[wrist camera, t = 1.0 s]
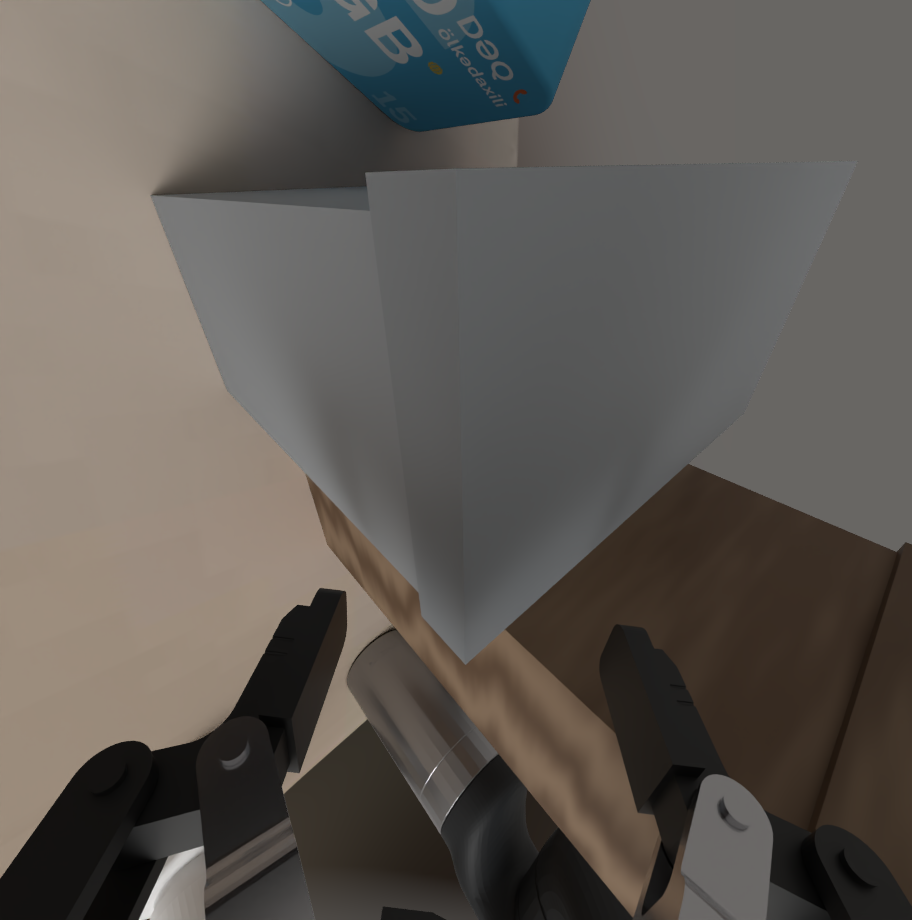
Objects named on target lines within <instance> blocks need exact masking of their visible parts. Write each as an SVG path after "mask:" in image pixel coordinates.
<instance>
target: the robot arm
mask: <svg viewBox="0 0 912 920" xmlns="http://www.w3.org/2000/svg"><path fill="white" fill-rule="evenodd" d="M346 631H347V602H346V592H345V591H340V590H332V589H324V588H320V589H319V590H318V591H317V593H316V595H315V597H314V599H313V601H312V603H311V605H310V606H303V605H297V606H296V607H294V608H293V609H292V610H291V611H290V612H289V613H288V614H287V615H286V616H285V617H284V618H283V619H282V620H281V622H280V624H279V626H278V628H277V629H276V631H275V633H274V635H273V639H271V641H270V643H269V644H268V646H267V648H266V650H265V654H263V656H262V657H261V659H260V661H259V663H258V665H257V667H256V669H255V671H254V672H253V674H252V676H251V678H250V680H249V682H248V684H247V685H246V687H245V689H244V691H243V693H242V695H241V697H240V698H239V700H238V702H237V704H236V706H235V708H234V709H233V711H232V713H231V714H230V715H229V717H228V718H227V719H226V720H225V721H224V722H223V723H222V724H221V725H220V726H219V727H218V728H216V729H215V730H214V731H213V732H211V733H210V734H208V735H207V736H205V737H203V738H201V739H199V740H196V741H194V742H190V743H186V744H182V745H178V746H173V747H169V748H164V749H160V750H155V751H151V750H150V749H149V747H148V746H147V745H145V744H144V743H141V742H138V741H126V742H121V743H118V744H115V745H112V746H110V747H108V748H106V749H104V750H102V751H101V752H99V753H98V754H96V755H95V756H93V757H92V758H91V759H90V760H88V761H87V762H86V763H85V764H84V765H83V766H82V767H81V768H80V769H79V770H78V771H77V773H76V774H75V775H74V776H73V778H72V779H71V781H70V782H69V783H68V785H67V786H66V787H65V789H64V790H63V792H62V793H61V794H60V796H59V797H58V799H57V800H56V801H55V803H54V804H53V806H52V807H51V808H50V810H49V811H48V813H47V814H46V815H45V817H44V818H43V820H42V821H41V822H40V824H39V825H38V827H37V828H36V829H35V831H34V832H33V834H32V835H31V836H30V838H29V839H28V841H27V842H26V843H25V845H24V846H23V848H22V849H21V850H20V852H19V853H18V855H17V856H16V857H15V859H14V860H13V862H12V863H11V864H10V866H9V867H8V869H7V870H6V871H5V873H4V874H3V876H2V877H1V878H0V920H139V918H140V916H141V914H142V912H143V910H144V908H145V905H146V903H147V901H148V899H149V897H150V895H151V893H152V890H153V888H154V886H155V884H156V882H157V880H158V878H159V875H160V873H161V871H162V869H163V867H164V865H165V863H166V860H167V858H168V856H171V855H174V854H177V853H181V852H184V851H188V850H191V849H194V848H198V847H201V846H204V855H205V865H206V884H205V887H204V908H205V920H315V918H314V914H313V910H312V906H311V901H310V897H309V893H308V889H307V885H306V881H305V877H304V873H303V869H302V865H301V861H300V857H299V852H298V848H297V844H296V841H295V837H294V833H293V829H292V827H291V823H290V819H289V815H288V811H287V807H286V802H285V798H284V794H283V790H282V784H283V781H284V779H285V776H286V773H287V772H295V773H300V770H301V767H302V764H303V761H304V759H305V756H306V753H307V750H308V747H309V744H310V741H311V738H312V735H313V733H314V730H315V727H316V724H317V721H318V718H319V715H320V712H321V709H322V707H323V704H324V701H325V698H326V695H327V692H328V689H329V686H330V683H331V680H332V678H333V675H334V672H335V669H336V666H337V663H338V660H339V657H340V654H341V652H342V649H343V645H344V642H345V637H346ZM599 672H600V678H601V682H602V686H603V690H604V693H605V697H606V700H607V704H608V708H609V711H610V715H611V718H612V722H613V726H614V729H615V733H616V736H617V740H618V744H619V747H620V751H621V755H622V758H623V762H624V765H625V769H626V773H627V776H628V780H629V783H630V787H631V791H632V794H633V798H634V802H635V805H636V809H637V812H638V813H642V814H650V815H654V816H655V820H656V823H657V826H658V829H659V835H658V838H657V841H656V844H655V848H654V851H653V854H652V858H651V861H650V864H649V868H648V871H647V874H646V878H645V881H644V884H643V888H642V891H641V894H640V898H639V901H638V904H637V908H636V911H635V914H634V917H632V916H631V915H630V914H629V912H628V911H627V910H626V909H625V908H624V906H623V905H622V904H621V903H620V901H619V900H618V899H617V898H616V897H615V895H614V894H613V893H612V892H611V890H610V889H609V888H608V887H607V886H606V884H605V883H604V882H603V881H602V880H601V878H600V877H599V876H598V875H597V873H596V872H595V871H594V870H593V869H592V867H591V866H590V865H589V864H588V862H587V861H586V860H585V859H584V858H583V856H582V855H581V854H580V853H579V851H578V850H577V849H576V848H575V847H574V845H573V844H572V843H571V842H570V840H569V839H568V838H567V837H566V836H565V834H564V833H563V832H562V831H561V829H560V828H559V827H558V828H557V829H556V830H555V831H554V832H553V834H552V835H551V836H550V838H549V839H548V840H547V842H546V843H545V845H544V846H543V848H542V849H541V851H540V852H538V851H537V850H536V848H535V846H534V845H533V843H532V841H531V839H530V837H529V834H528V831H527V826H526V818H525V802H526V795H527V788H526V787H525V786H524V784H523V783H522V782H521V781H520V779H519V778H518V777H517V776H516V775H515V773H514V772H513V771H512V770H511V768H510V767H509V766H508V765H507V764H506V762H505V761H504V760H503V759H502V757H501V756H500V755H499V754H498V753H497V751H496V750H495V749H494V748H493V746H492V745H491V744H490V743H489V742H488V740H487V739H486V738H485V737H484V735H483V734H482V733H481V732H480V731H479V729H478V728H477V727H476V726H475V724H474V723H473V722H472V721H471V720H470V718H469V717H468V716H467V715H466V713H465V712H464V711H463V710H462V709H461V707H460V706H459V705H458V704H457V702H456V701H455V700H454V699H453V698H452V696H451V695H450V694H449V693H448V692H447V690H446V689H445V688H444V687H443V685H442V684H441V683H440V682H439V681H438V679H437V678H436V677H435V676H434V674H433V673H432V672H431V671H430V670H429V668H428V667H427V666H426V665H425V663H424V662H423V661H422V660H421V659H420V657H419V656H418V655H417V654H416V652H415V651H414V650H413V649H412V648H411V646H410V645H409V644H408V643H407V641H406V640H405V639H404V638H403V637H402V635H401V634H400V633H399V632H398V630H394V631H391V632H388V633H386V634H384V635H383V636H381V637H380V638H378V639H377V640H375V641H374V642H373V643H372V644H370V645H369V646H368V647H367V648H366V649H365V650H364V651H363V652H362V653H361V654H360V656H359V657H358V658H357V659H356V661H355V662H354V664H353V666H352V667H351V670H350V672H349V674H348V678H347V685H348V688H349V690H350V691H351V693H352V694H353V696H354V698H355V699H356V701H357V702H358V704H359V706H360V707H361V709H362V710H363V712H364V714H365V715H366V717H367V719H368V720H369V722H370V723H371V725H372V726H373V728H374V730H375V731H376V733H377V734H378V736H379V738H380V739H381V741H382V742H383V744H384V746H385V747H386V749H387V750H388V752H389V753H390V755H391V757H392V758H393V760H394V762H395V763H396V765H397V766H398V768H399V769H400V771H401V772H402V774H403V776H404V777H405V779H406V780H407V782H408V784H409V785H410V787H411V789H412V790H413V792H414V793H415V795H416V796H417V798H418V800H419V801H420V803H421V804H422V806H423V807H424V809H425V810H426V812H427V814H428V815H429V817H430V818H431V820H432V822H433V823H434V825H435V826H436V828H437V830H438V831H439V833H440V834H441V836H442V838H443V839H444V841H445V843H446V844H447V846H448V848H449V850H450V853H451V855H452V859H453V864H454V868H455V872H456V875H457V878H458V881H459V883H460V886H461V888H462V890H463V892H464V894H465V896H466V898H467V899H468V901H469V903H470V905H471V907H472V909H473V910H474V912H475V914H476V916H477V918H478V919H479V920H912V906H911V904H910V902H909V901H908V899H907V898H906V896H905V894H904V893H903V891H902V889H901V888H900V886H899V885H898V883H897V881H896V880H895V878H894V876H893V875H892V873H891V872H890V870H889V869H888V868H887V866H886V865H885V864H884V862H883V861H882V860H881V859H880V858H879V857H878V855H877V854H876V853H875V852H874V851H873V850H872V849H871V848H870V847H869V846H868V845H866V844H865V843H864V842H863V841H862V840H860V839H859V838H858V837H856V836H855V835H853V834H852V833H850V832H848V831H847V830H845V829H843V828H840V827H838V826H834V825H822V826H820V827H819V828H817V829H816V830H815V831H814V832H812V833H811V832H809V831H807V830H805V829H802V828H800V827H798V826H796V825H794V824H792V823H790V822H788V821H786V820H783V819H781V818H779V817H777V816H775V815H773V814H771V813H769V812H767V811H765V810H763V808H762V806H761V805H760V804H759V802H758V801H757V800H756V799H755V797H754V796H753V795H752V794H751V793H750V792H749V791H748V790H747V789H746V788H744V787H743V786H742V785H741V784H739V783H738V782H736V781H735V780H733V779H731V778H730V777H729V775H728V774H727V772H726V770H725V768H724V766H723V764H722V762H721V760H720V757H719V755H718V753H717V751H716V749H715V747H714V745H713V742H712V740H711V738H710V736H709V734H708V732H707V730H706V727H705V725H704V723H703V721H702V719H701V717H700V715H699V712H698V710H697V708H696V706H694V704H693V703H694V702H693V700H692V697H691V695H690V693H689V691H688V690H686V685H685V683H684V680H683V678H682V676H681V674H680V672H679V670H678V668H677V666H676V665H675V664H674V663H673V661H672V660H671V659H670V658H669V657H668V656H667V654H666V653H665V652H664V651H663V650H662V649H655V648H654V647H653V645H652V642H651V640H650V638H649V635H648V633H647V631H646V630H645V629H644V628H642V627H635V626H627V625H619V624H616V625H615V626H614V627H613V629H612V632H611V634H610V636H609V638H608V641H607V643H606V645H605V647H604V650H603V652H602V654H601V657H600V662H599ZM381 920H446V919H444V918H442V917H440V916H438V915H436V914H434V913H432V912H423V911H415V910H407V909H398V908H391V907H383V910H382V916H381Z"/></svg>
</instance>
